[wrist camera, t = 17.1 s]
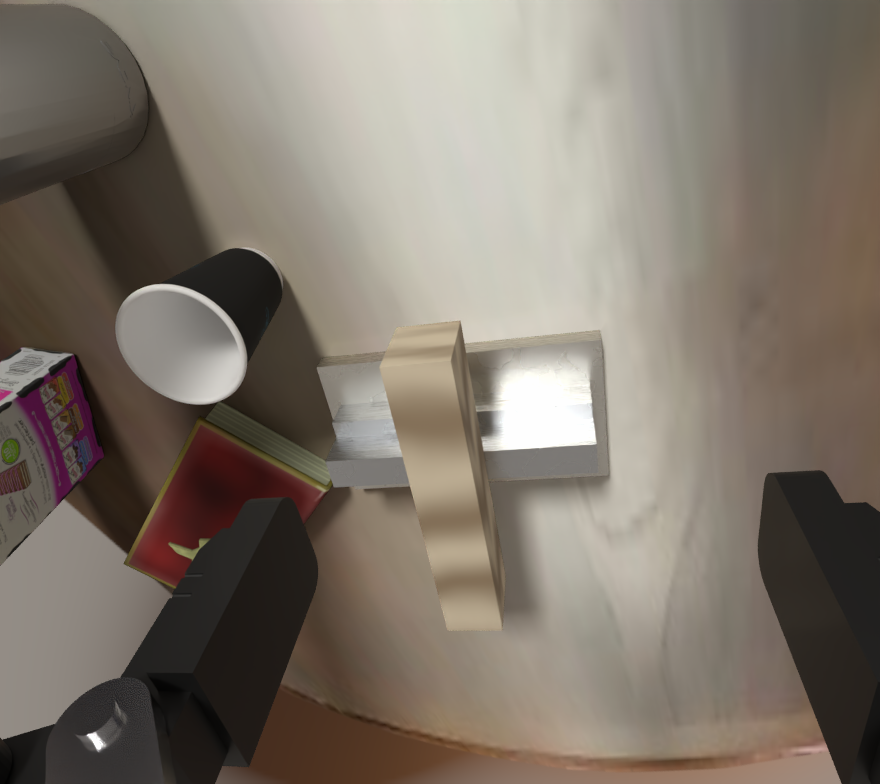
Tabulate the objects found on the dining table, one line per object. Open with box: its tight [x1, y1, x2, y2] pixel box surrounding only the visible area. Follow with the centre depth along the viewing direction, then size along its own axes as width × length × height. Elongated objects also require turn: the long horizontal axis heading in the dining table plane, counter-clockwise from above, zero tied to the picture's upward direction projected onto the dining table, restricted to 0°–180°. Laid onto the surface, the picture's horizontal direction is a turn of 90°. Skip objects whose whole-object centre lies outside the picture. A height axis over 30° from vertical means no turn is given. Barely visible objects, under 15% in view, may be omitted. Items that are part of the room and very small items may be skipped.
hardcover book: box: [124, 401, 333, 589], centre depth 57 cm, size 12×21×4 cm, turn 148°
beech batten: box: [379, 321, 506, 631], centre depth 42 cm, size 22×4×5 cm, turn 10°
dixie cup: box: [115, 248, 283, 405], centre depth 41 cm, size 8×8×11 cm
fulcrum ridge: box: [316, 330, 609, 489], centre depth 47 cm, size 21×12×7 cm, turn 100°
